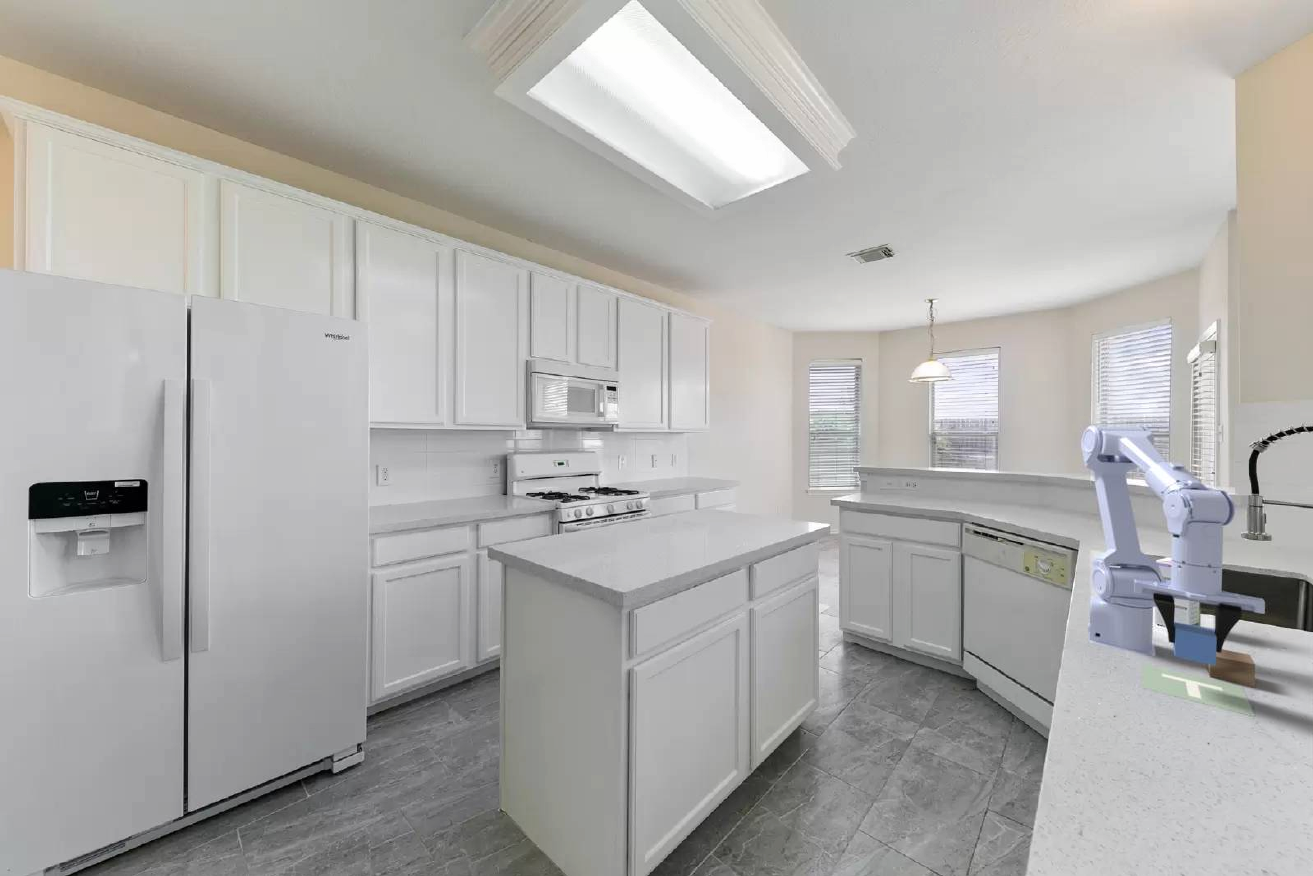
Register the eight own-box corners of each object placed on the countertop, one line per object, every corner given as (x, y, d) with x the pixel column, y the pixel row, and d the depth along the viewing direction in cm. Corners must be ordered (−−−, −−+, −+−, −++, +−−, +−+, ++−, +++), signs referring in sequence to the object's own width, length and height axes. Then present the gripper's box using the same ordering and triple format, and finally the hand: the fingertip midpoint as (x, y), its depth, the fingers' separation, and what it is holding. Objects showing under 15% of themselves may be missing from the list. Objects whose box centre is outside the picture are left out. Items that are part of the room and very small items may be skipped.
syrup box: (1190, 633, 108) (1192, 565, 107) (1153, 624, 113) (1154, 558, 112) (1200, 629, 110) (1202, 562, 110) (1164, 619, 115) (1165, 556, 115)
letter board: (1142, 691, 83) (1142, 688, 83) (1141, 667, 92) (1141, 663, 92) (1255, 720, 75) (1255, 716, 75) (1241, 690, 84) (1242, 686, 84)
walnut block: (1209, 681, 87) (1210, 655, 87) (1206, 671, 91) (1207, 646, 91) (1254, 691, 84) (1255, 664, 84) (1249, 680, 88) (1249, 654, 87)
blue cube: (1174, 656, 83) (1175, 629, 83) (1173, 648, 87) (1174, 621, 86) (1215, 665, 80) (1216, 637, 80) (1212, 656, 83) (1213, 629, 83)
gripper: (1135, 559, 85) (1133, 640, 85) (1269, 577, 75) (1267, 668, 76) (1134, 552, 90) (1133, 628, 91) (1260, 567, 81) (1258, 653, 81)
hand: (1193, 645), depth 83 cm, fingers closed on blue cube, 4 cm apart
